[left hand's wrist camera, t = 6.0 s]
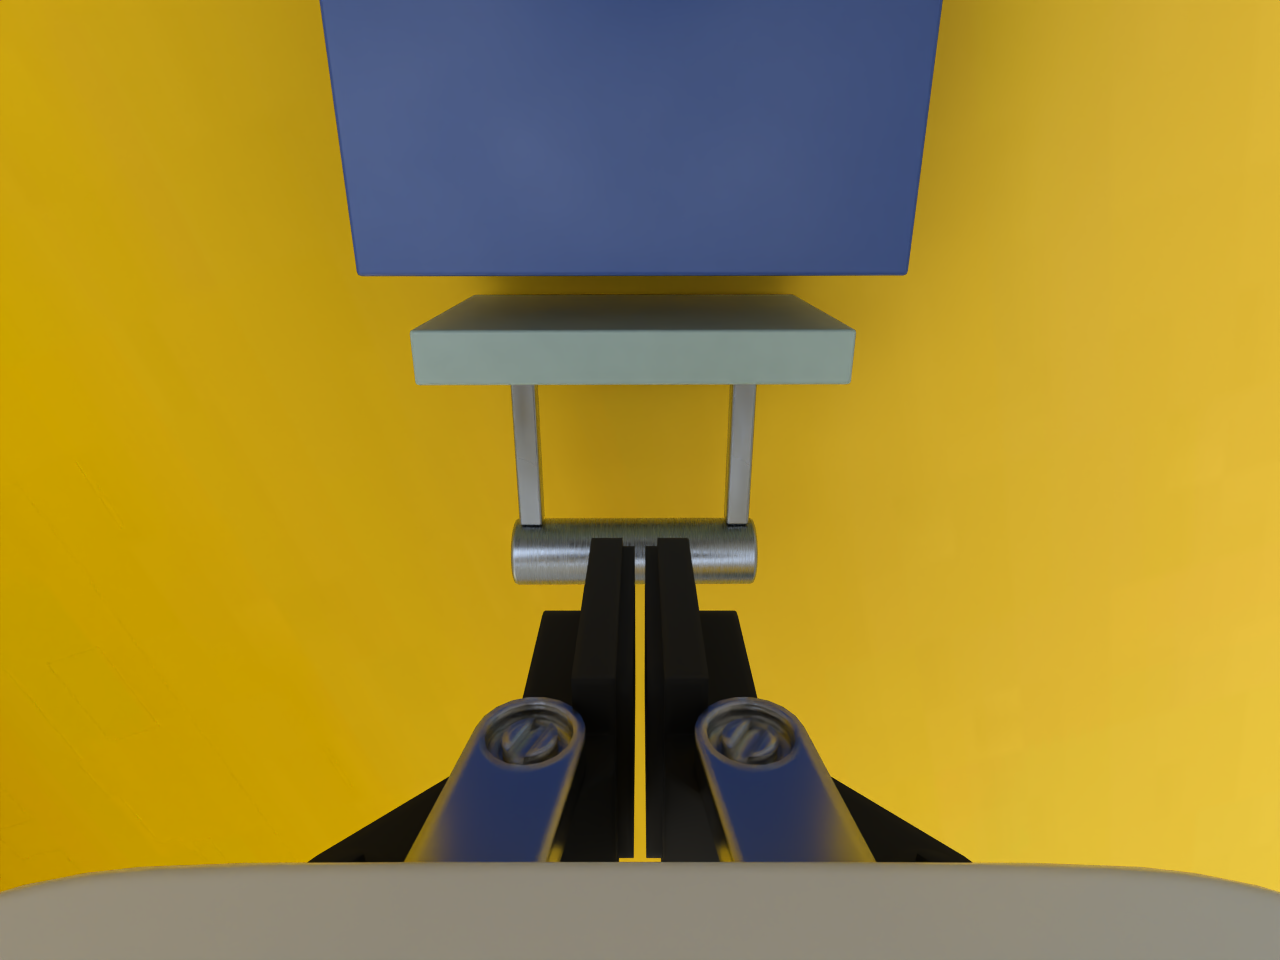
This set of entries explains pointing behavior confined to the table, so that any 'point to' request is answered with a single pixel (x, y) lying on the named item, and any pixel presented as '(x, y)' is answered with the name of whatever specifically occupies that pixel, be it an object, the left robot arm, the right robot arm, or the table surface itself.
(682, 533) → the drawer
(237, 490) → the table surface
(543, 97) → the cabinet
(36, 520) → the table surface
